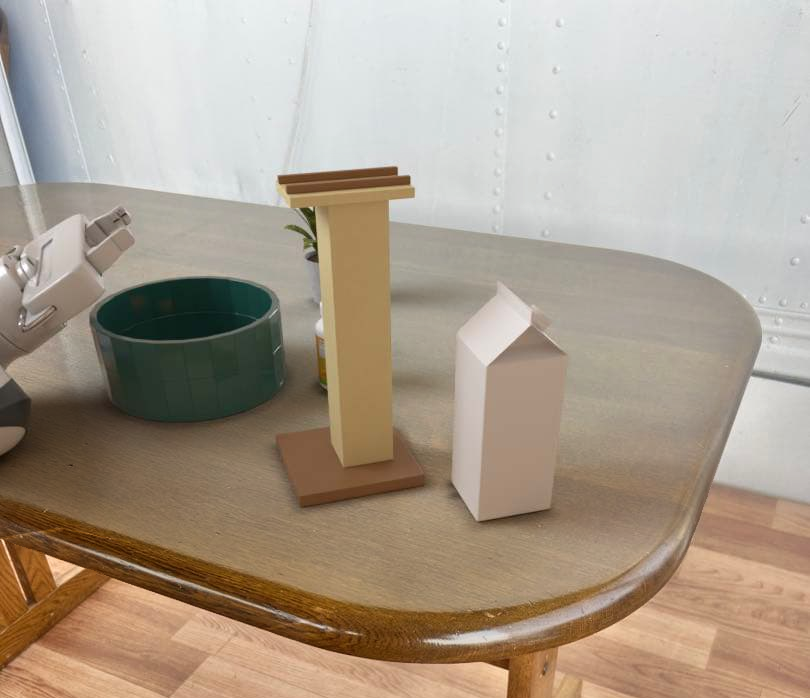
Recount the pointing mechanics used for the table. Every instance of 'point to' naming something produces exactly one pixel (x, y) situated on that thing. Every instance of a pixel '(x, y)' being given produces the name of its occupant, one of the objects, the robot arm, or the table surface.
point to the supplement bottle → (321, 351)
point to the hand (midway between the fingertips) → (128, 221)
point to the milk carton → (506, 409)
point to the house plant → (312, 256)
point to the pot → (190, 347)
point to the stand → (351, 339)
